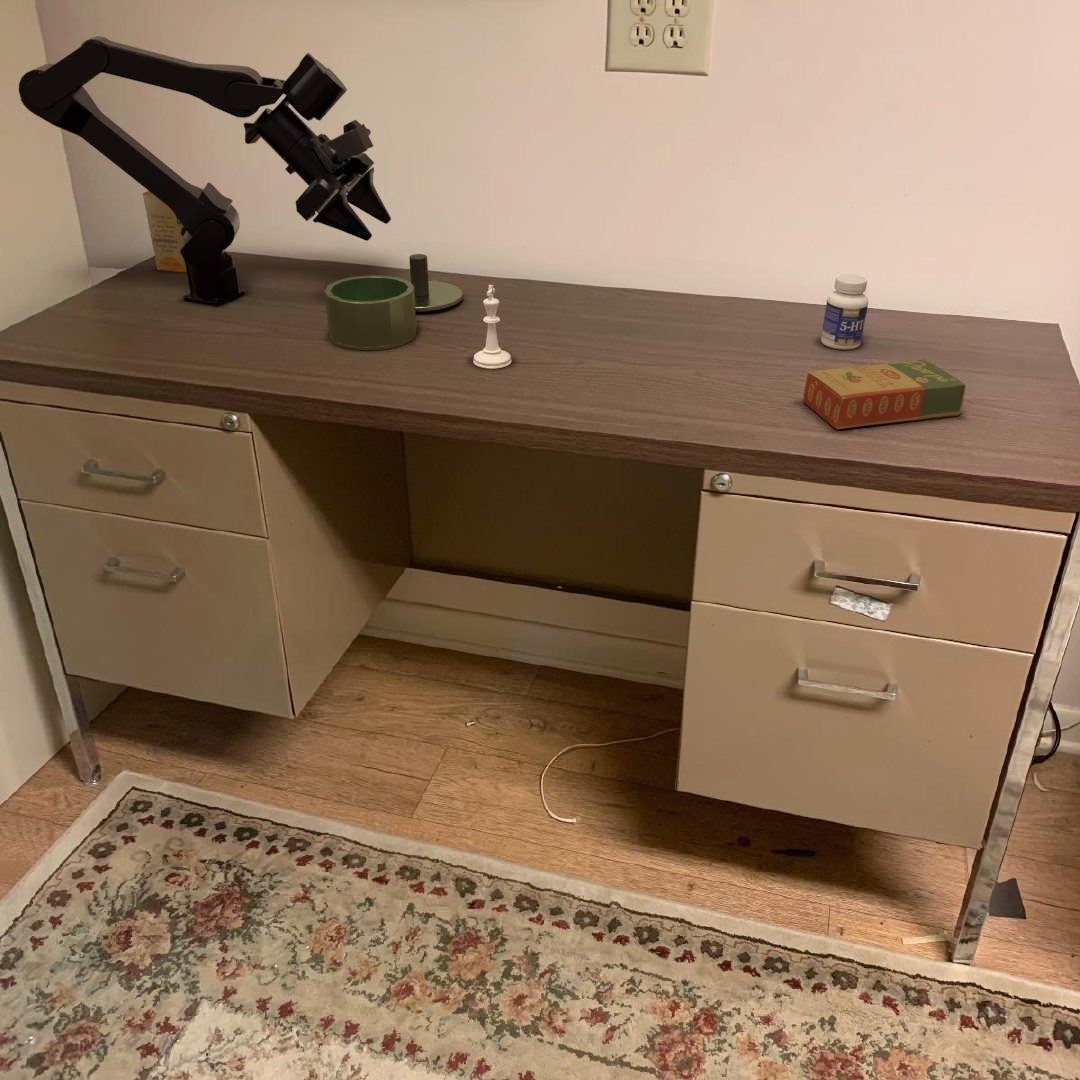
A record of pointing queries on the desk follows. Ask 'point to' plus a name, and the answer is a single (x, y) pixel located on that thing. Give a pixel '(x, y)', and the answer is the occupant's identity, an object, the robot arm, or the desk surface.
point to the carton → (883, 393)
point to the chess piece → (491, 338)
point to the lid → (430, 287)
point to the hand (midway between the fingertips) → (379, 229)
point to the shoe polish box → (165, 234)
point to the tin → (371, 312)
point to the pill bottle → (845, 313)
